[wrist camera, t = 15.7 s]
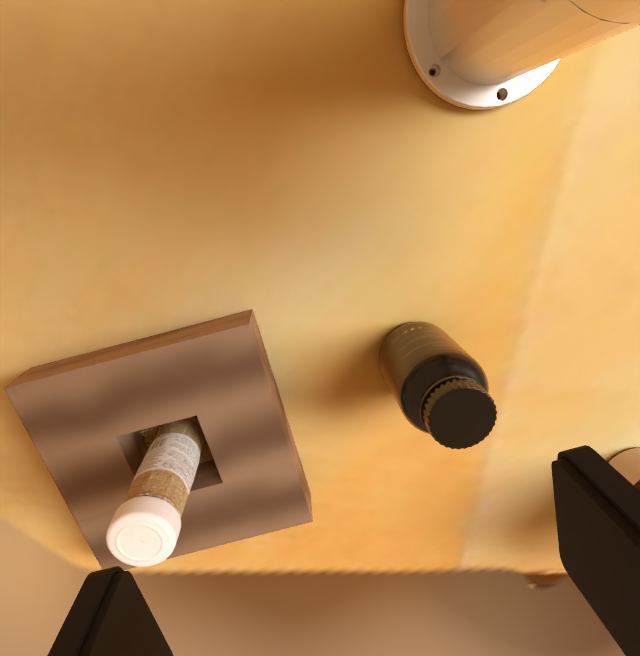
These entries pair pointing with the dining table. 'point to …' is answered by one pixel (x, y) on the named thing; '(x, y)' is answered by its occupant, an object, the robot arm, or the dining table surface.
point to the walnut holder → (164, 407)
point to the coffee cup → (628, 465)
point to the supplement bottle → (437, 385)
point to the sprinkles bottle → (157, 496)
